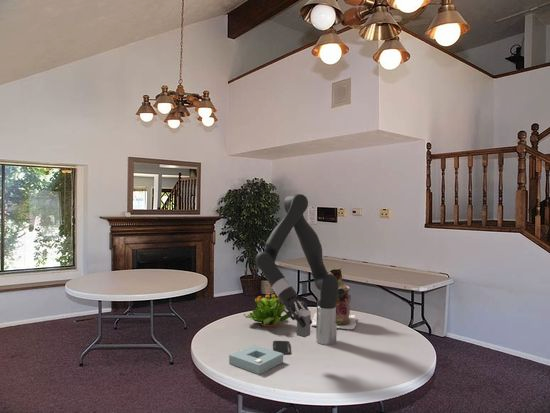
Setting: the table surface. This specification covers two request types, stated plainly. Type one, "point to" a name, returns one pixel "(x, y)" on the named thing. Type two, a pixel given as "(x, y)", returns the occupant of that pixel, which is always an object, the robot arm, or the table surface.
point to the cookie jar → (341, 304)
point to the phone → (281, 347)
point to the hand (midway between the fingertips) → (307, 325)
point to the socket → (256, 359)
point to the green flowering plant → (268, 311)
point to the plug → (306, 317)
